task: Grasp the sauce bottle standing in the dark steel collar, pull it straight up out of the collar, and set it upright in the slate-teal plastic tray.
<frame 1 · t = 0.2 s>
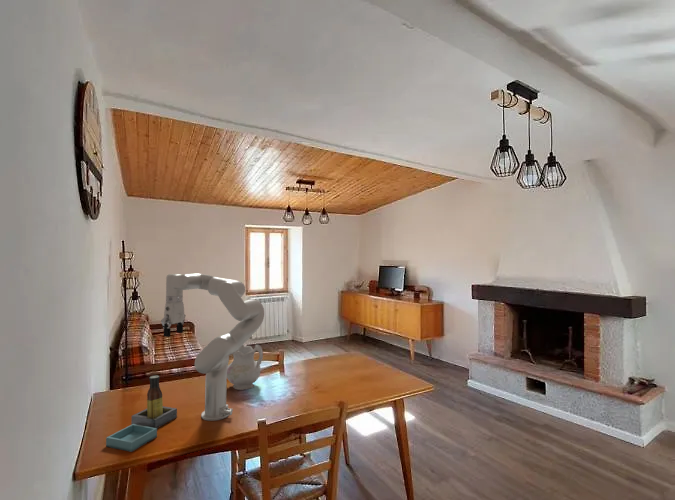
hand: (173, 334, 183), 36 cm above the table, tool pointing down, fingers open, 9 cm apart
teal tray: (132, 441, 150), on the table
steel collar: (154, 421, 169), on the table
sauce bottle: (154, 421, 169), resting in steel collar
ceramic pitcher: (245, 386, 215), on the table
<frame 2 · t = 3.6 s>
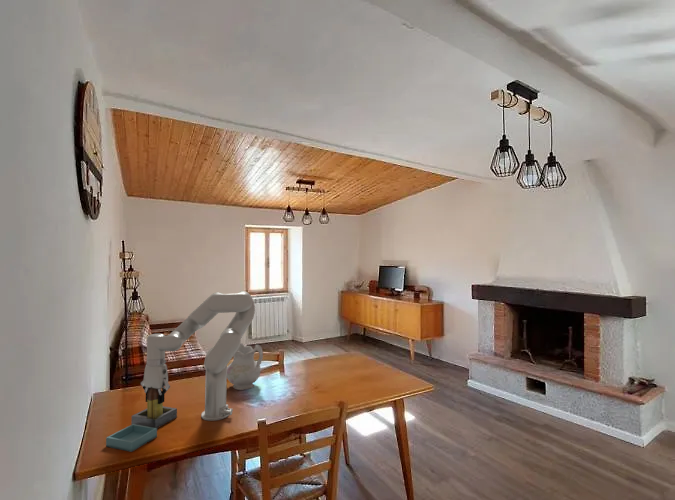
hand: (154, 401, 169), 9 cm above the table, tool pointing down, fingers closed on sauce bottle, 6 cm apart
sauce bottle: (154, 421, 169), resting in steel collar, touching gripper
everything else where it was.
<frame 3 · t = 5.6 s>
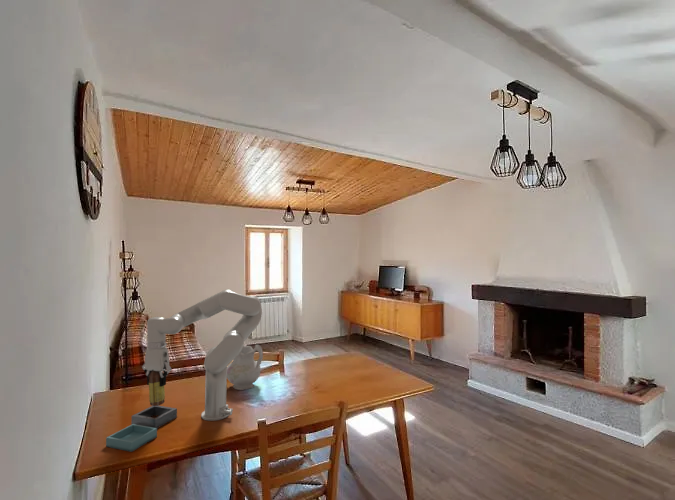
hand: (156, 384, 169), 16 cm above the table, tool pointing down, fingers closed on sauce bottle, 6 cm apart
sauce bottle: (156, 404, 169), point 7 cm above the table, touching gripper
everything else where it was.
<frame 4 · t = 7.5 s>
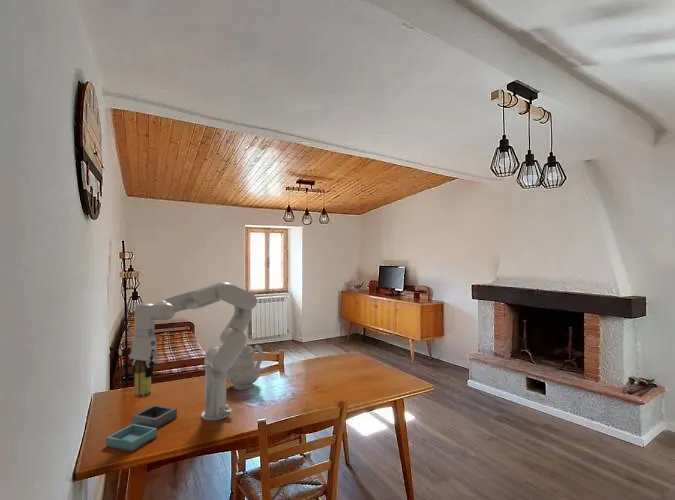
hand: (142, 375, 158), 24 cm above the table, tool pointing down, fingers closed on sauce bottle, 6 cm apart
sauce bottle: (142, 396, 158), point 15 cm above the table, touching gripper
everything else where it was.
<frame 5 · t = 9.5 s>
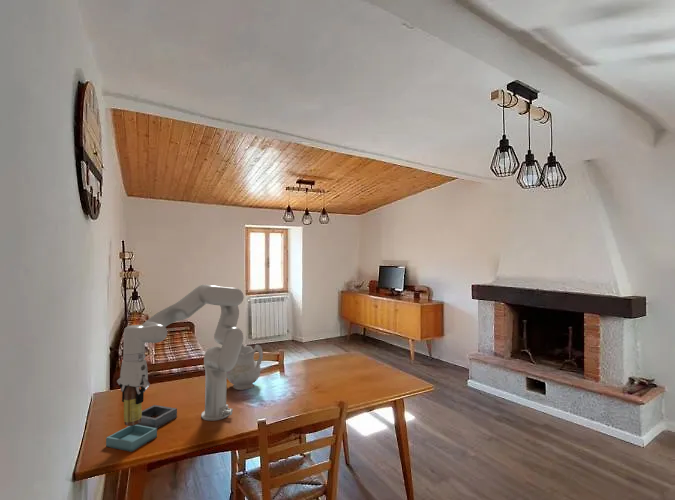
hand: (132, 401, 150), 16 cm above the table, tool pointing down, fingers closed on sauce bottle, 6 cm apart
sauce bottle: (132, 423, 150), point 7 cm above the table, touching gripper
everything else where it was.
when the fingers open (11 cm above the table, at t = 11.3 s): sauce bottle drops 1 cm, resting on teal tray.
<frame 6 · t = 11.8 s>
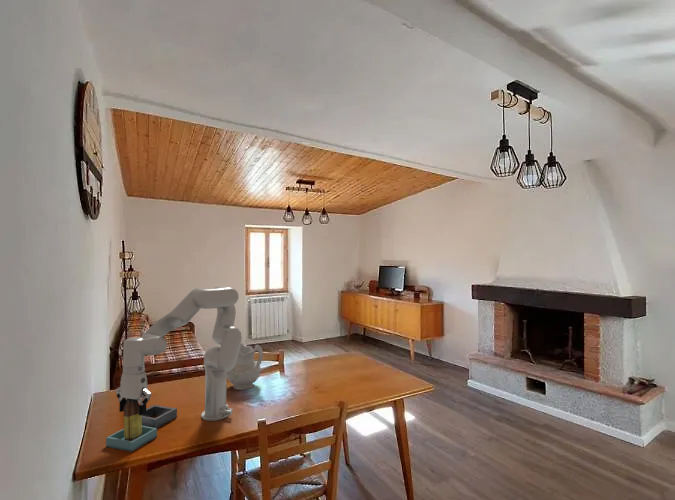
hand: (132, 412, 150), 12 cm above the table, tool pointing down, fingers open, 9 cm apart
sauce bottle: (132, 439, 150), point 1 cm above the table, touching teal tray
everything else where it was.
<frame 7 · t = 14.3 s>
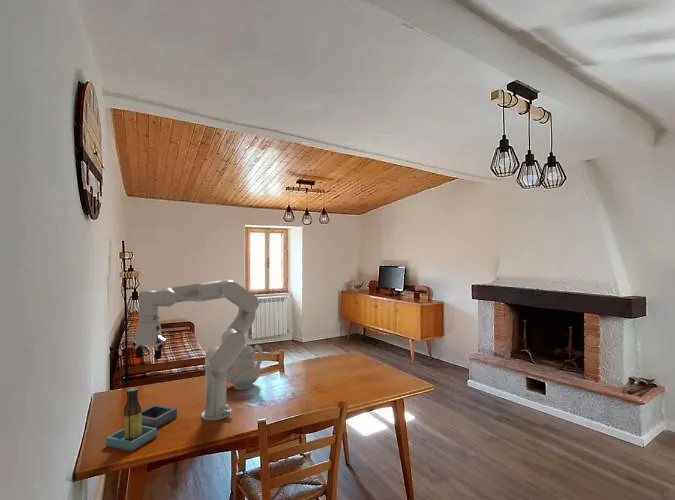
hand: (148, 358, 163), 30 cm above the table, tool pointing down, fingers open, 9 cm apart
nothing on the table moved.
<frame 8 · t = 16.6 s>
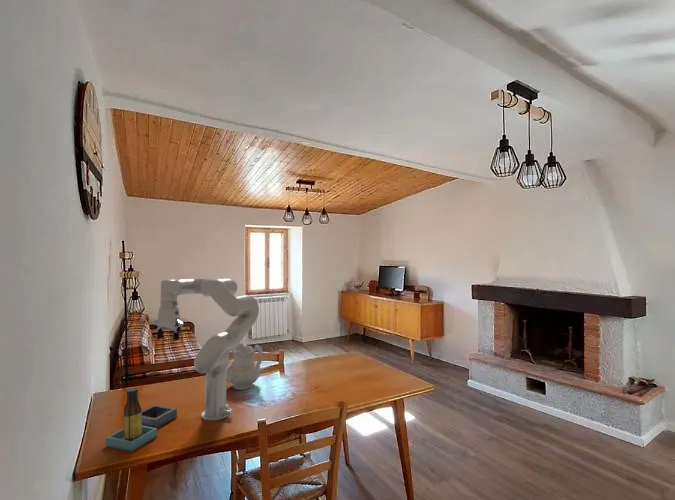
hand: (168, 339, 185), 33 cm above the table, tool pointing down, fingers open, 9 cm apart
nothing on the table moved.
at the end: sauce bottle inside the target area on the teal tray (0.2 cm from its centre), point 0.6 cm above the teal tray's base; sauce bottle tilted 0°; the gripper is holding nothing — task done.
